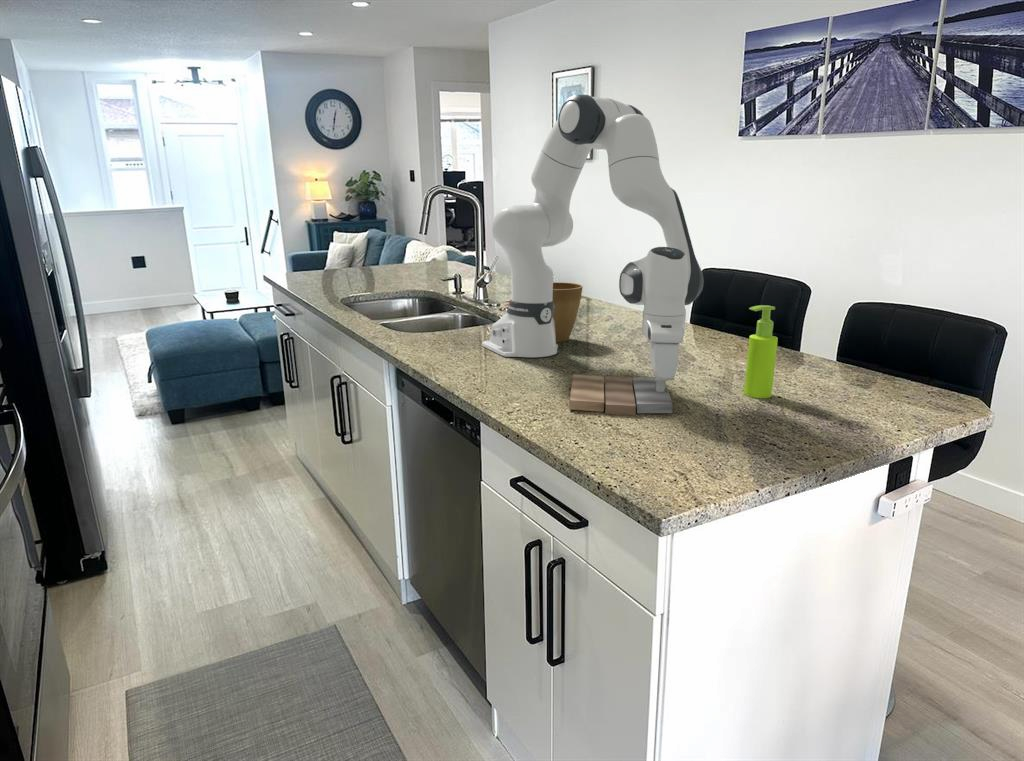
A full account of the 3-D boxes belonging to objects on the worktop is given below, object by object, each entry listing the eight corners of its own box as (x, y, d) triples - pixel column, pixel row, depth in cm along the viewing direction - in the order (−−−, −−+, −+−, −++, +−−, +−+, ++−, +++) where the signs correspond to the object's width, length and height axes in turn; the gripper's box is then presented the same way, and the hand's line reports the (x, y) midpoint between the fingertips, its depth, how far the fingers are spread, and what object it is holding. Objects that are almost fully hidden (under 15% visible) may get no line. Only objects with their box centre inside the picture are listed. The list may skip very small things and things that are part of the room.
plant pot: (580, 335, 220) (582, 282, 215) (580, 346, 205) (582, 289, 201) (531, 333, 221) (532, 280, 217) (527, 344, 207) (529, 288, 202)
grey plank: (632, 386, 166) (632, 377, 166) (663, 385, 166) (663, 377, 165) (637, 413, 147) (637, 403, 147) (672, 413, 146) (672, 403, 146)
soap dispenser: (734, 392, 163) (743, 304, 158) (759, 389, 165) (769, 302, 160) (751, 399, 158) (761, 309, 152) (777, 397, 160) (787, 307, 155)
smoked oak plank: (572, 382, 168) (573, 374, 167) (602, 384, 167) (603, 376, 167) (569, 409, 149) (569, 400, 148) (603, 411, 148) (604, 402, 148)
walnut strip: (604, 384, 168) (604, 375, 168) (630, 385, 168) (631, 376, 167) (605, 413, 147) (605, 404, 147) (635, 415, 146) (635, 405, 146)
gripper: (644, 317, 162) (641, 377, 166) (651, 335, 143) (648, 403, 146) (673, 318, 162) (669, 378, 165) (684, 336, 142) (679, 404, 146)
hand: (659, 390), depth 156 cm, fingers closed, pressing on grey plank
